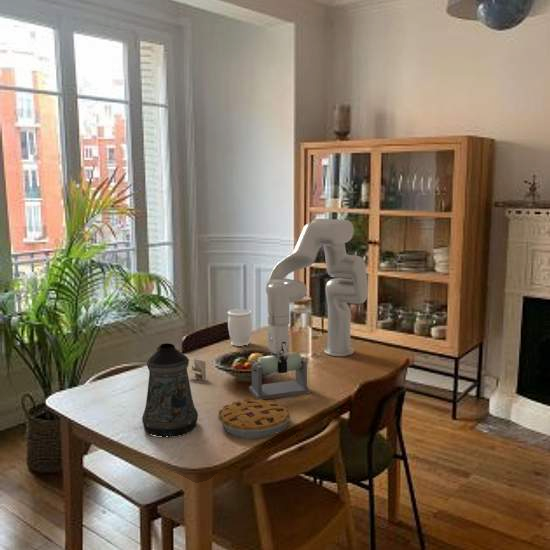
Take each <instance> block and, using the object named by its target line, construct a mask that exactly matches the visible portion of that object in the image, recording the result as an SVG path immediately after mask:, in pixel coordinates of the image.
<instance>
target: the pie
mask: <svg viewBox="0 0 550 550" xmlns="http://www.w3.org/2000/svg"><path fill="white" fill-rule="evenodd" d="M217 420H218V421H219V423H220V424H221V425H222V426H224V427H223V428H224V429H225V431H226V432H227V431H228V432H227V433H229V432H230V433H229V434H230V435H232V434H234V435H236V436H235V437H237V436H240V437H239V438H242V437H244V438H243V439H260V438H259V437H261V438H264V436H266V437H270V436H269V435H271V436H273V435H275V434H274V433H276V432H278V433H280V432H281V431H282V429H283V428H284V427H285V426H286V427H287V424H288V421H290V420H291V412H290V411H289V409H288V407H287V406H284V404H283V403H281V402H277V403H276V402H275V401H274V400H272V399H250V398H246V399H244V400H242V401H234V402H232V403H231V404H226V405H224V406H223V407H222V409H219V411H218V414H217ZM286 427H285V428H286ZM285 428H284V429H285ZM279 431H280V432H279ZM272 434H273V435H272ZM276 434H277V433H276ZM234 435H233V436H234Z"/></svg>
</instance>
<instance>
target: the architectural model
mask: <svg viewBox="0 0 550 550" xmlns="http://www.w3.org/2000/svg"><path fill="white" fill-rule="evenodd" d="M193 363H194V365H191V367H190V368H187V372H189V373H193V374H194V377H195V376H197V377H196V378H197V379H198V380H199V379H200V378H202V379H200V380H204V381H206V380H207V374H206V373H207V372H206V370H207V369H206V368H207V367H206V366H207V365H206V361H205V360H202V359H198V358H194V360H193ZM205 379H206V380H205Z"/></svg>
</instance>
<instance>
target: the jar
mask: <svg viewBox="0 0 550 550" xmlns="http://www.w3.org/2000/svg"><path fill="white" fill-rule="evenodd" d="M252 313H253V312H252V310H250V309H246V308H245V309H244V308H237V309H231V310H227V316H228V319H227V329H228V330H227V331H228V334H229V338H230V340H231V342H230V345H231V346H233V345H237V346H239V345H247V344H249V343H251V342H250V339H251V336H252V330H253V322H252V316H251V315H252ZM249 345H250V344H249ZM237 346H236V347H237ZM247 346H248V345H247Z"/></svg>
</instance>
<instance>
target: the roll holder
mask: <svg viewBox="0 0 550 550" xmlns="http://www.w3.org/2000/svg"><path fill="white" fill-rule="evenodd" d="M300 357H302V356H301V355H300ZM250 361H251V385H249V388H248V389H249V391H250V393H251V394H252V395H253V397H255V398H256V399H263V400H266V399H265V398H267V399H274V398H280V397H279V396H282V397H287V396H288V395H289V396H295V395H302V394H301V393H303V394H309V393H308V392H310V393H311V389H310V388H309V387H308V361H307V360H306V359H304V360H302V364H301V368H300V370H295V380H288V381H280V382H273V383H272V382H271V383H265V384H262V383H263V382H262V381H263V378H262V376H263V374H262V367H261V366H260V365H257V366H256V370H254V367H253V364H254V363H257V361H256V359H251V360H250ZM289 396H288V397H289ZM273 397H274V398H273ZM256 399H255V400H256Z"/></svg>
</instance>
